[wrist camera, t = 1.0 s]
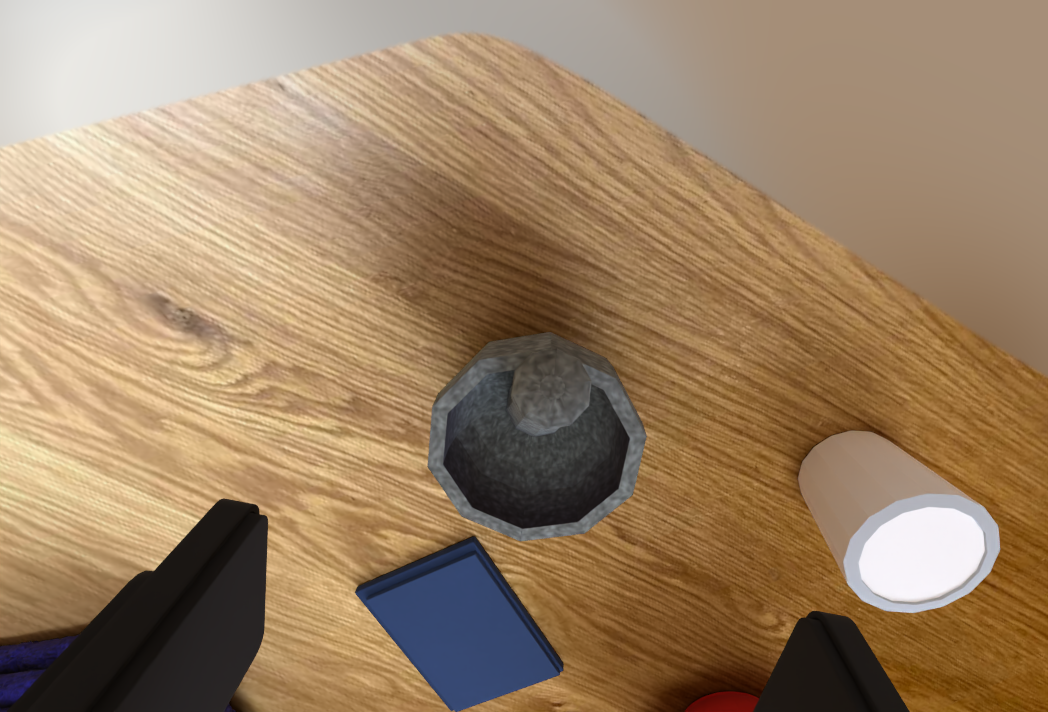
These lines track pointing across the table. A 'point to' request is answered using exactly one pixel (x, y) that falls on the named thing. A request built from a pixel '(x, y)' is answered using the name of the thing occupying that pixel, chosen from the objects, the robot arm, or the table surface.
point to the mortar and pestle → (536, 438)
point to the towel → (29, 667)
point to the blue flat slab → (461, 626)
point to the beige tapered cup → (896, 524)
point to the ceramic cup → (724, 702)
